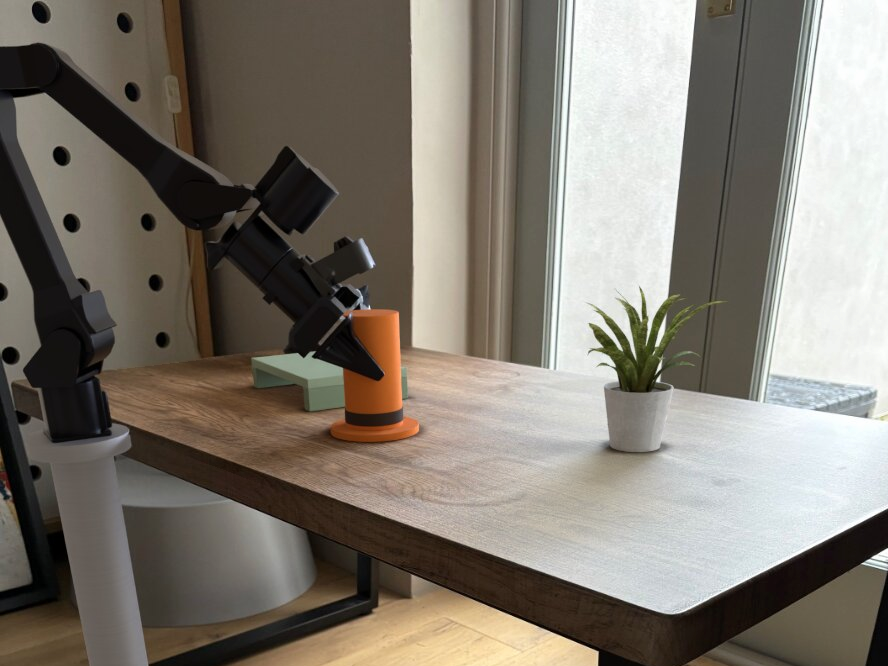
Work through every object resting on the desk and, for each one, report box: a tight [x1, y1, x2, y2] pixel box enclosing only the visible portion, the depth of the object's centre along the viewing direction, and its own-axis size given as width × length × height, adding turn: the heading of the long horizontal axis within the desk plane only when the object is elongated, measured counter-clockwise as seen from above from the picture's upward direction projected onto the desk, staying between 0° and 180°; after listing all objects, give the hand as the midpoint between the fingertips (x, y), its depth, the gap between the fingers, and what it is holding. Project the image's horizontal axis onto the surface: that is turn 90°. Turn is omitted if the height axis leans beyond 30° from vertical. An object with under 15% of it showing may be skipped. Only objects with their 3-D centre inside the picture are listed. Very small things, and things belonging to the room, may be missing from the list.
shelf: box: [250, 351, 409, 412], centre depth 126 cm, size 14×20×4 cm
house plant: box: [583, 285, 729, 453], centre depth 95 cm, size 14×14×16 cm
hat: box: [330, 308, 420, 443], centre depth 103 cm, size 10×10×13 cm
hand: (384, 372), depth 103 cm, fingers closed on hat, 6 cm apart
